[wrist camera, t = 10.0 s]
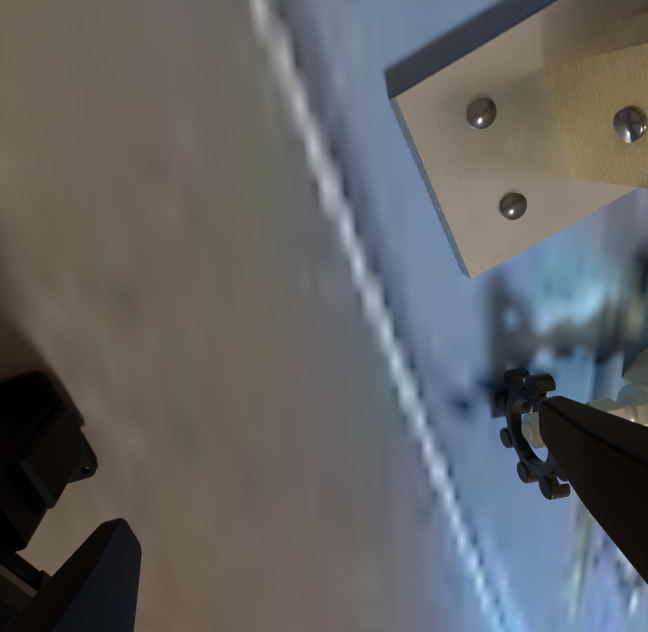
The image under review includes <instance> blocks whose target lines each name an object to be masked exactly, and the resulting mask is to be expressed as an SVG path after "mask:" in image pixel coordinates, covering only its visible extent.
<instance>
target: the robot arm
mask: <svg viewBox="0 0 648 632" xmlns="http://www.w3.org/2000/svg"><path fill="white" fill-rule="evenodd" d="M31 380H35V381H37V382H38V385H36V384H34V383H33V382H32V381H31ZM538 416H539V432H540V436H541V438H542V440H543V442H544V444H545V445H546V447H547V448H548V450H549V452H550V453H551V455H552V456H553V458H554V459H555V461H556V462H557V464H558V465H559V467H560V469H561V470H562V472H563V473H564V475H565V476H566V478H567V479H568V481H569V482H570V484H571V486H572V487H573V489H574V490H575V492H576V493H577V495H578V496H579V498H580V499H581V501H582V502H583V504H584V505H585V506H586V508H587V509H588V510H589V512H590V513H591V514H592V516H593V517H594V518H595V519H596V521H597V522H598V523H599V524H600V526H601V527H602V528H603V529H604V531H605V532H606V533H607V534H608V536H609V537H610V538H611V539H612V541H613V542H614V543H615V544H616V546H617V547H618V548H619V549H620V551H621V552H622V553H623V554H624V556H625V557H626V558H627V559H628V561H629V562H630V563H631V564H632V566H633V567H634V568H635V569H636V571H637V572H638V573H639V574H640V576H641V577H642V578H643V579H644V581H645V582H646V583H647V584H648V427H647V426H645V425H642V424H639V423H636V422H633V421H630V420H628V419H625V418H622V417H619V416H616V415H613V414H611V413H608V412H605V411H602V410H599V409H596V408H594V407H591V406H588V405H585V404H582V403H580V402H577V401H574V400H571V399H568V398H565V397H562V396H553V397H549V398H546V399H542V400H541V401H540V402H539V404H538ZM85 466H86V467H88V468H90V469H86V468H84V467H85ZM97 468H98V464H97V461H96V460H95V458H94V456H93V455H92V453H91V451H90V450H89V448H88V443H87V441H86V440H85V438H84V436H83V435H82V433H81V431H80V430H79V428H78V426H77V424H76V423H75V421H74V419H73V418H72V416H71V414H70V413H69V411H68V409H67V408H66V407H64V405H63V404H62V402H61V400H60V399H59V397H58V395H57V393H56V392H55V390H54V388H53V387H52V385H51V383H50V382H49V380H48V378H47V377H46V376H45V374H43V373H41V372H38V371H31V372H28V373H24V374H20V375H17V376H13V377H9V378H6V379H2V380H0V632H134V624H135V615H136V605H137V596H138V586H139V576H140V566H141V555H142V553H141V546H140V543H139V541H138V540H137V538H136V536H135V535H134V533H133V531H132V530H131V528H130V526H129V524H128V523H127V521H126V520H125V519H123V518H117V519H113V520H110V521H106V522H104V523H102V524H101V525H100V526H98V528H97V529H96V530H95V531H94V532H93V533H92V534H91V535H90V536H89V537H88V538H87V539H86V540H85V542H84V543H83V544H82V545H81V546H80V547H79V548H78V549H77V550H76V551H75V552H74V553H73V555H72V556H71V557H70V558H69V559H68V560H67V561H66V562H65V563H64V564H63V565H62V566H61V567H60V569H59V570H58V571H57V572H56V573H55V574H54V575H53V576H52V577H51V576H50V575H49V574H47V573H46V572H45V571H44V570H42V571H39V570H38V569H36V568H35V567H34V566H32V565H31V564H30V563H29V562H27V561H26V560H25V559H23V558H22V557H21V556H20V555H18V554H17V553H16V551H20V550H23V549H25V548H26V547H27V545H28V543H29V541H30V540H31V538H32V536H33V534H34V533H35V531H36V529H37V527H38V526H39V524H40V522H41V520H42V519H43V517H44V515H45V513H46V512H47V510H48V509H51V508H53V507H54V506H55V505H56V503H57V501H58V499H59V498H60V496H61V494H62V492H63V490H64V489H65V487H66V485H67V484H68V483H71V482H75V481H78V480H82V479H86V478H89V477H91V476H93V475H94V474H95V472H96V470H97Z"/></svg>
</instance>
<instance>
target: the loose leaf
mask: <svg viewBox="0 0 648 632" xmlns="http://www.w3.org/2000/svg"><path fill="white" fill-rule="evenodd" d="M543 70H544V74H545V78H546V81H547V85H548V88H549V92H550V96H551V99H552V103H553V107H554V110H555V114H556V118H557V121H558V125H559V129H560V132H561V136H562V140H563V143H564V147H565V150H566V154H567V158H568V161H569V165H570V169H571V172H572V176H573V179H579V180H586V181H594V182H601V183H609V184H616V185H624V186H631V187H638V188H646V189H648V11H647V12H644V13H641V14H638V15H635V16H632V17H630V18H629V19H627V20H625V21H623V22H622V23H620V24H618V25H617V26H615V27H613V28H611V29H610V30H608V31H606V32H605V33H603V34H601V35H600V36H598V37H596V38H594V39H593V40H591V41H589V42H588V43H586V44H584V45H582V46H581V47H579V48H577V49H576V50H574V51H572V52H570V53H569V54H567V55H565V56H564V57H562V58H560V59H558V60H557V61H555V62H553V63H552V64H550V65H548V66H547V67H545V68H543Z"/></svg>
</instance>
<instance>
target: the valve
mask: <svg viewBox="0 0 648 632" xmlns="http://www.w3.org/2000/svg"><path fill="white" fill-rule="evenodd" d="M524 378H525V384H524V381H523V379H524ZM623 380H624V382H625V384H626V385H625V386H624V387H622V388H621V390H620V391H619V393H618V396H617V401H616V402H615V401H613V400H612V399H611V398H608V399H602V400H597V401H591V402H587V403H586V404H585V405H588V406H591V407H594V408H596V409H599V410H602V411H605V412H608V413H611V414H613V415H616V416H619V417H622V418H625V419H628V420H630V421H633V422H636V423H639V424H642V425H645V426H647V427H648V349H644V350H642V351H641V352H640V353H639V354H638V356H637V357H636V358H635V360H634V361H633V362H632V364H631V365H630V366H629V368H628V369H627V370H626V372H625V373H624V375H623ZM504 381H505V384H506V386H507V388H508V389H509V391H503V392H498V393H496V395H495V402H496V406H497V408H498V409H499V410H500V411H501V412H504V413H505V415H506V419H507V427H506V428H502V429H501V430H500V438H501V441H502V443H503V445H504V446H505V447H506V448H512V447H514V448H515V450H516V452H517V454H518V456H519V459H520V462H519V463H518V464H517V472H518V475H519V477H520V479H521V480H522V481H523V482H524V483H532V482H537V481H539V487H540V490H541V492H542V494H543V495H544V497H545V498H547V499H548V500H552V499H558V498H563V497H568V496H569V495H570V486H569V484H568V483H567V484H562V485H561V484H559V482H558V479H557V477H558V478H559V479H560V480H562V481H568V479H567V478H566V476H565V475H564V473H563V472H562V470H561V469H560V467H559V465H558V464H557V462H556V461H555V459H554V458H553V456H552V455H551V453H550V452H549V450H548V456H547V459H546V462H543V461H542V460H541V459H539V458H538V457H537V456H536V455H535V453H534V452H533V451H532V449H531V447H530V445H531V446H532V447H534V448H535V449H536V448H542V447H546V445H545V444H544V442H543V440H542V438H541V436H540V432H539V416H538V404H539V402H540V401H541V400H542V399H546V398H547V397H546V393H547V392H548V391H554V390H556V385H555V381H554V379H553V377H552V376H551V375H550V374H549V373H540V374H534V375H530V373H529V372H528V370H527V369H525V368H518V369H512V370H507V371H506V372H505V373H504ZM525 400H526V401H525ZM525 413H528V414H526V415H525V416H524V417H523V419H522V421H521V414H525ZM527 441H528V442H527ZM528 443H529V444H530V445H529V444H528Z"/></svg>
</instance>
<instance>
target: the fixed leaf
mask: <svg viewBox="0 0 648 632" xmlns="http://www.w3.org/2000/svg"><path fill="white" fill-rule="evenodd" d="M647 11H648V0H555V1H553V2H552V3H550V4H548V5H547V6H545V7H543V8H542V9H540V10H538V11H536V12H535V13H533V14H531V15H530V16H528V17H526V18H525V19H523V20H521V21H520V22H518V23H516V24H515V25H513V26H511V27H510V28H508V29H506V30H505V31H503V32H501V33H500V34H498V35H496V36H494V37H493V38H491V39H489V40H488V41H486V42H484V43H483V44H481V45H479V46H478V47H476V48H474V49H473V50H471V51H469V52H468V53H466V54H464V55H463V56H461V57H459V58H458V59H456V60H454V61H453V62H451V63H449V64H447V65H446V66H444V67H442V68H441V69H439V70H437V71H436V72H434V73H432V74H431V75H429V76H427V77H426V78H424V79H422V80H421V81H419V82H417V83H416V84H414V85H412V86H411V87H409V88H407V89H405V90H404V91H402V92H400V93H399V94H397V95H395V96H394V97H392V98H390V99H389V101H390V103H391V105H392V108H393V110H394V113H395V115H396V117H397V120H398V122H399V124H400V127H401V129H402V131H403V134H404V136H405V139H406V141H407V143H408V146H409V148H410V150H411V153H412V155H413V157H414V160H415V162H416V165H417V167H418V169H419V172H420V174H421V176H422V179H423V181H424V183H425V186H426V188H427V191H428V193H429V195H430V198H431V200H432V202H433V205H434V207H435V209H436V212H437V214H438V217H439V219H440V221H441V224H442V226H443V228H444V231H445V233H446V235H447V238H448V240H449V243H450V245H451V247H452V250H453V252H454V254H455V257H456V259H457V261H458V264H459V266H460V269H461V271H462V273H463V274H464V275H466V276H467V277H469V278H470V279H473V278H475V277H476V276H478V275H480V274H482V273H484V272H485V271H487V270H489V269H491V268H493V267H495V266H496V265H498V264H500V263H502V262H504V261H505V260H507V259H509V258H511V257H513V256H514V255H516V254H518V253H520V252H522V251H524V250H525V249H527V248H529V247H531V246H533V245H534V244H536V243H538V242H540V241H542V240H544V239H545V238H547V237H549V236H551V235H553V234H554V233H556V232H558V231H560V230H562V229H564V228H565V227H567V226H569V225H571V224H573V223H574V222H576V221H578V220H580V219H582V218H583V217H585V216H587V215H589V214H591V213H593V212H594V211H596V210H598V209H600V208H602V207H603V206H605V205H607V204H609V203H611V202H613V201H614V200H616V199H618V198H620V197H622V196H623V195H625V194H627V193H629V192H631V191H632V190H634V189H636V188H638V187H631V186H624V185H616V184H609V183H601V182H594V181H586V180H579V179H573V176H572V172H571V169H570V165H569V161H568V158H567V154H566V150H565V147H564V143H563V140H562V136H561V132H560V129H559V125H558V121H557V118H556V114H555V110H554V107H553V103H552V99H551V96H550V92H549V88H548V85H547V81H546V78H545V74H544V70H543V68H545V67H547V66H548V65H550V64H552V63H553V62H555V61H557V60H558V59H560V58H562V57H564V56H565V55H567V54H569V53H570V52H572V51H574V50H576V49H577V48H579V47H581V46H582V45H584V44H586V43H588V42H589V41H591V40H593V39H594V38H596V37H598V36H600V35H601V34H603V33H605V32H606V31H608V30H610V29H611V28H613V27H615V26H617V25H618V24H620V23H622V22H623V21H625V20H627V19H629V18H630V17H632V16H635V15H638V14H641V13H644V12H647Z"/></svg>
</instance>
